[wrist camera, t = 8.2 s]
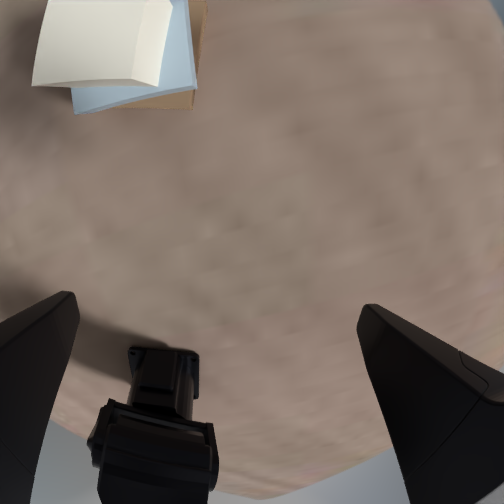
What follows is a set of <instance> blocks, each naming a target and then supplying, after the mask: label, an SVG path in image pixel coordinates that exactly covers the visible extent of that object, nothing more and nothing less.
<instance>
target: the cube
mask: <svg viewBox="0 0 504 504" xmlns="http://www.w3.org/2000/svg"><path fill="white" fill-rule="evenodd" d="M172 8H173V6H172V4H171V2H170V0H49V1H48V4H47V8H46V11H45V15H44V19H43V23H42V27H41V32H40V37H39V41H38V46H37V52H36V57H35V64H34V70H33V77H32V85H31V86H51V87H71V88H87V87H114V86H142V87H158V82H159V76H160V70H161V64H162V58H163V52H164V47H165V41H166V36H167V31H168V26H169V22H170V17H171V13H172Z"/></svg>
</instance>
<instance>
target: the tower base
mask: <svg viewBox="0 0 504 504" xmlns="http://www.w3.org/2000/svg"><path fill="white" fill-rule="evenodd" d="M188 7H189V17H190V27H191V36H192V46H193V55H194V64H195V72H196V79H197V72H198V65H199V58H200V52H201V46H202V40H203V34H204V28H205V22H206V17H207V12H208V9H207V4H206V1H201V0H188ZM194 94H195V89H194V90H188V91H182V92H177V93H171V94H166V95H161V96H157V97H152V98H148V99H143V100H139V101H135V102H131V103H127V104H123V105H119V106H115V107H112V108H163V109H185V110H193V102H194Z"/></svg>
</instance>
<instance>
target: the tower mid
mask: <svg viewBox="0 0 504 504" xmlns="http://www.w3.org/2000/svg"><path fill="white" fill-rule="evenodd" d="M170 2H171V4H172V6H173V8H172V13H171V17H170V22H169V26H168V31H167V36H166V41H165V47H164V52H163V58H162V64H161V70H160V76H159V82H158V87H142V86H114V87H87V88H71V93H72V101H73V108H74V115H78V114H88V113H95V112H98V111H101V110H105V109H108V108H112V107H115V106H119V105H123V104H127V103H131V102H135V101H139V100H143V99H148V98H152V97H157V96H161V95H166V94H171V93H177V92H182V91H188V90H194V89H197V81H196V72H195V64H194V55H193V46H192V36H191V27H190V17H189V7H188V0H170Z"/></svg>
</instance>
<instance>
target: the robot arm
mask: <svg viewBox="0 0 504 504" xmlns="http://www.w3.org/2000/svg"><path fill="white" fill-rule="evenodd" d="M79 321H80V314H79V309H78V305H77V301H76V297H75V294H74V293H73V292H70V291H60V292H58V293H56V294H54V295H52V296H51V297H49V298H47V299H45V300H43V301H41V302H39V303H37V304H35V305H33V306H31V307H29V308H27V309H25V310H23V311H21V312H19V313H18V314H16V315H14V316H12V317H10V318H8V319H6V320H4V321H3V322H1V323H0V504H30V499H31V493H32V488H33V483H34V478H35V477H34V475H35V472H36V467H37V463H38V459H39V455H40V450H41V447H42V443H43V439H44V435H45V431H46V428H47V424H48V421H49V418H50V414H51V411H52V408H53V405H54V402H55V398H56V395H57V392H58V389H59V386H60V384H61V381H62V378H63V375H64V372H65V369H66V367H67V364H68V361H69V357H70V354H71V350H72V346H73V342H74V339H75V335H76V332H77V328H78V325H79ZM357 334H358V338H359V342H360V346H361V350H362V353H363V357H364V361H365V365H366V369H367V372H368V375H369V378H370V380H371V383H372V386H373V388H374V391H375V394H376V397H377V400H378V402H379V405H380V408H381V411H382V414H383V417H384V420H385V423H386V425H387V428H388V431H389V434H390V438H391V441H392V444H393V447H394V450H395V453H396V456H397V459H398V462H399V466H400V469H401V472H402V475H403V479H404V483H405V486H406V490H407V494H408V497H409V501H410V504H504V374H503V373H501V372H499V371H497V370H495V369H493V368H491V367H489V366H487V365H485V364H483V363H481V362H479V361H478V360H476V359H474V358H472V357H470V356H468V355H467V354H465V353H463V352H461V351H458V349H456V348H454V347H453V346H451V345H449V344H447V343H446V342H444V341H442V340H440V339H439V338H437V337H435V336H433V335H431V334H430V333H428V332H426V331H424V330H423V329H421V328H419V327H417V326H415V325H414V324H412V323H410V322H408V321H407V320H405V319H403V318H401V317H399V316H398V315H396V314H394V313H392V312H390V311H389V310H387V309H385V308H383V307H381V306H380V305H378V304H365V305H364V306H363V308H362V311H361V314H360V317H359V320H358V323H357ZM132 351H133V352H132ZM128 357H129V363H130V368H131V373H132V378H133V380H132V384H131V388H130V392H129V396H128V400H127V404H123V403H120V402H116V401H115V400H113V399H110V398H109V400H108V403H107V405H104V407H101V409H100V412H99V415H98V419H97V422H96V424H95V426H94V428H93V430H92V432H91V434H90V436H89V437H88V440H87V446H88V447H89V449H90V451H91V456H92V465H93V467H96V468H99V469H100V471H99V478H98V486H97V491H98V494H99V497H100V500H101V502H102V504H207V501H208V494H209V491H210V492H211V491H213V489H214V488H215V485H216V482H217V478H218V472H219V456H218V450H217V445H216V439H215V433H214V427H213V423H208V422H206V423H202V422H197V421H192V411H193V399H198V397H199V355H198V354H196V353H190V352H178V351H168V350H158V349H150V348H141V347H134V346H131V347H129V349H128ZM193 358H195V359H193Z"/></svg>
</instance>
